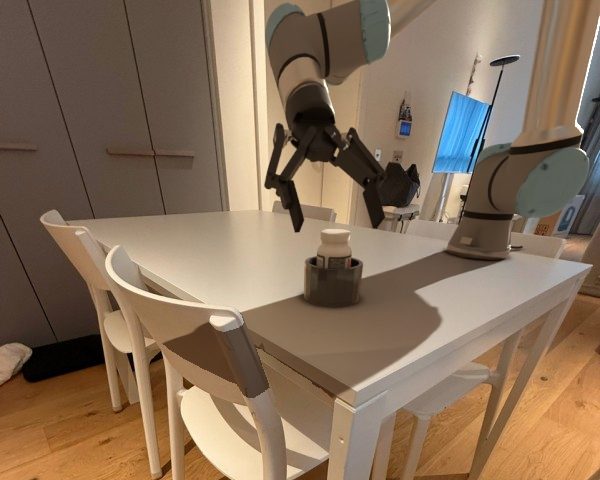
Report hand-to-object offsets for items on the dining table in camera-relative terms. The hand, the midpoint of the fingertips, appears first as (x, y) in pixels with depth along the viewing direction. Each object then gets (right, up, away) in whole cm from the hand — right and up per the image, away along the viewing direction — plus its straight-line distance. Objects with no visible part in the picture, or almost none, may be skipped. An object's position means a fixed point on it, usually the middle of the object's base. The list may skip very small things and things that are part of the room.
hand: (340, 224), depth 51 cm
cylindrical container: (-1, -9, +8) cm, 12 cm away
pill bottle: (-1, -8, +8) cm, 11 cm away
